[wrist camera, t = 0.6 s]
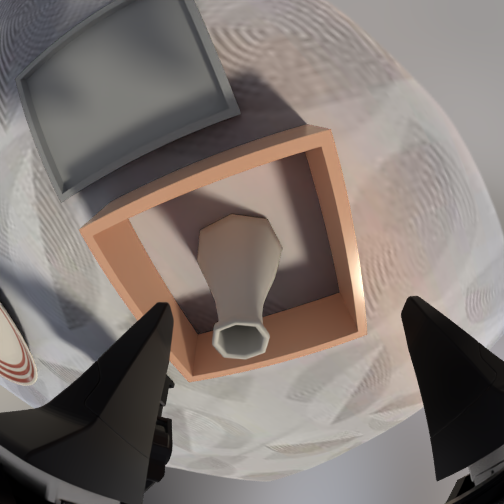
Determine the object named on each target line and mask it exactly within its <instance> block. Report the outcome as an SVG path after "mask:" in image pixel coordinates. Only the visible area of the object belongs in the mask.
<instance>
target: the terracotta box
mask: <svg viewBox="0 0 504 504" xmlns="http://www.w3.org/2000/svg"><path fill="white" fill-rule="evenodd" d="M304 151H305V154H306V157H307V160H308V164H309V167H310V171H311V174H312V178H313V181H314V185H315V188H316V192H317V196H318V199H319V203H320V207H321V211H322V215H323V219H324V223H325V227H326V231H327V235H328V240H329V244H330V248H331V253H332V257H333V262H334V267H335V271H336V276H337V281H338V286H339V291H340V293H337V294H334V295H331V296H328V297H325V298H322V299H319V300H316V301H313V302H310V303H307V304H304V305H301V306H298V307H294V308H291V309H288V310H285V311H282V312H278V313H275V314H272V315H268V316H265V317H262V319H263V325H264V327H265V328H266V330H267V331H268V333H269V335H270V338H269V342H268V345H267V348H266V351H265V353H262V354H260V355H257V356H254V357H251V358H248V359H234V358H224V357H223V356H222V355H221V354H220V353H219V352H218V351H217V350H216V349H215V348H214V346H213V345H212V338H213V331H210V332H206V333H202V334H197V333H196V331H195V330H194V328H193V327H192V325H191V324H190V322H189V321H188V319H187V318H186V316H185V315H184V313H183V312H182V310H181V308H180V307H179V305H178V304H177V302H176V301H175V299H174V298H173V296H172V294H171V293H170V291H169V290H168V288H167V286H166V285H165V283H164V281H163V280H162V278H161V276H160V275H159V273H158V271H157V270H156V268H155V266H154V265H153V263H152V261H151V259H150V258H149V256H148V254H147V252H146V251H145V249H144V247H143V245H142V244H141V242H140V240H139V238H138V236H137V234H136V233H135V231H134V229H133V227H132V225H131V223H130V221H129V219H128V218H130V217H132V216H135V215H137V214H139V213H141V212H143V211H146V210H148V209H150V208H152V207H155V206H157V205H159V204H161V203H164V202H166V201H168V200H171V199H173V198H176V197H178V196H180V195H183V194H185V193H188V192H190V191H193V190H195V189H198V188H200V187H203V186H205V185H208V184H211V183H213V182H216V181H218V180H221V179H224V178H226V177H229V176H232V175H235V174H237V173H240V172H243V171H246V170H249V169H252V168H254V167H257V166H260V165H263V164H266V163H269V162H272V161H275V160H278V159H282V158H285V157H288V156H291V155H294V154H298V153H301V152H304ZM79 231H80V233H81V235H82V236H83V238H84V240H85V242H86V243H87V245H88V247H89V249H90V250H91V252H92V254H93V255H94V257H95V259H96V260H97V262H98V263H99V265H100V267H101V268H102V270H103V271H104V273H105V274H106V276H107V278H108V279H109V281H110V282H111V284H112V285H113V287H114V288H115V290H116V291H117V292H118V294H119V295H120V297H121V298H122V300H123V301H124V303H125V304H126V305H127V307H128V308H129V310H130V311H131V312H132V314H133V315H134V316H135V318H136V319H137V320H139V319H140V318H141V317H142V316H143V315H144V314H145V313H146V312H148V311H149V310H150V309H151V308H152V307H153V306H154V305H155V304H156V303H157V302H168V303H169V304H170V307H171V311H172V315H173V318H174V326H173V334H172V342H171V351H170V359H169V360H170V361H171V363H172V364H173V365H174V366H175V367H176V368H177V370H178V371H179V372H180V373H181V374H182V375H183V376H184V377H185V378H186V380H187V381H188V382H194V381H200V380H205V379H211V378H216V377H221V376H226V375H231V374H235V373H240V372H244V371H249V370H253V369H257V368H261V367H265V366H269V365H273V364H277V363H281V362H284V361H288V360H291V359H295V358H298V357H302V356H305V355H309V354H312V353H315V352H318V351H321V350H324V349H328V348H331V347H334V346H337V345H339V344H342V343H345V342H348V341H351V340H354V339H356V338H359V337H362V336H364V335H367V323H366V312H365V302H364V292H363V284H362V276H361V269H360V262H359V255H358V249H357V243H356V237H355V231H354V226H353V220H352V215H351V210H350V205H349V200H348V195H347V191H346V186H345V182H344V178H343V173H342V169H341V165H340V161H339V157H338V154H337V150H336V146H335V142H334V139H333V135H332V132H331V129H328V128H323V127H319V126H314V125H309V124H306V125H303V126H299V127H296V128H292V129H289V130H285V131H282V132H279V133H276V134H273V135H269V136H266V137H263V138H260V139H257V140H254V141H251V142H248V143H245V144H243V145H240V146H237V147H234V148H231V149H229V150H226V151H223V152H221V153H218V154H215V155H213V156H210V157H208V158H205V159H203V160H200V161H198V162H195V163H193V164H191V165H188V166H186V167H183V168H181V169H179V170H176V171H174V172H172V173H170V174H167V175H165V176H163V177H161V178H158V179H156V180H154V181H152V182H150V183H148V184H146V185H143V186H141V187H139V188H137V189H135V190H133V191H131V192H129V193H127V194H125V195H123V196H121V197H119V198H117V199H115V200H113V201H111V202H110V203H109V204H108V205H106V206H105V207H104V208H103V209H102V210H100V211H99V212H98V213H97V214H96V215H95V216H94V217H92V218H91V219H90V220H89V221H88V222H87V223H86V224H85V225H84V226H82V227H81V228H80V229H79Z"/></svg>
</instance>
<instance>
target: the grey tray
mask: <svg viewBox="0 0 504 504" xmlns="http://www.w3.org/2000/svg"><path fill="white" fill-rule="evenodd" d="M15 81H16V85H17V89H18V93H19V96H20V100H21V103H22V107H23V110H24V113H25V117H26V120H27V123H28V126H29V129H30V132H31V134H32V137H33V140H34V143H35V145H36V148H37V150H38V153H39V156H40V158H41V160H42V163H43V165H44V168H45V170H46V172H47V175H48V177H49V179H50V181H51V183H52V186H53V188H54V190H55V192H56V194H57V196H58V198H59V200H60V202H61V203H62V202H63V201H65V200H66V199H68V198H69V197H71V196H73V195H74V194H76V193H77V192H79V191H80V190H82V189H84V188H85V187H87V186H88V185H90V184H92V183H93V182H95V181H97V180H98V179H100V178H102V177H104V176H105V175H107V174H109V173H111V172H112V171H114V170H116V169H118V168H120V167H121V166H123V165H125V164H127V163H129V162H131V161H133V160H135V159H137V158H139V157H141V156H143V155H145V154H147V153H149V152H151V151H153V150H155V149H157V148H159V147H161V146H163V145H165V144H167V143H170V142H172V141H174V140H176V139H179V138H181V137H183V136H185V135H188V134H190V133H192V132H195V131H197V130H200V129H202V128H205V127H207V126H210V125H212V124H215V123H217V122H220V121H223V120H225V119H228V118H231V117H234V116H237V115H239V114H241V112H240V110H239V107H238V104H237V102H236V99H235V97H234V94H233V92H232V89H231V86H230V84H229V81H228V79H227V76H226V74H225V72H224V69H223V67H222V64H221V62H220V59H219V57H218V54H217V52H216V50H215V47H214V45H213V43H212V40H211V38H210V35H209V33H208V31H207V28H206V26H205V24H204V22H203V19H202V17H201V15H200V12H199V10H198V8H197V6H196V4H195V1H194V0H115V1H114V2H112V3H110V4H109V5H107V6H105V7H104V8H102V9H100V10H99V11H97V12H96V13H94V14H92V15H91V16H89V17H88V18H86V19H85V20H84V21H82V22H81V23H79V24H78V25H76V26H75V27H74V28H72V29H71V30H70V31H68V32H67V33H66V34H64V35H63V36H62V37H60V38H59V39H58V40H57V41H55V42H54V43H53V44H52V45H51V46H49V47H48V48H47V49H46V50H45V51H44V52H42V53H41V54H40V55H39V56H38V57H37V58H36V59H35V60H34V61H33V62H32V63H30V64H29V65H28V66H27V67H26V68H25V69H24V70H23V71H22V72H21V73H20V74H19V75H18V76H17V77H16V78H15Z"/></svg>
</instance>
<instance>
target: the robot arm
mask: <svg viewBox="0 0 504 504" xmlns="http://www.w3.org/2000/svg"><path fill="white" fill-rule="evenodd" d="M401 318H402V322H403V327H404V331H405V336H406V340H407V345H408V349H409V353H410V357H411V360H412V363H413V367H414V370H415V374H416V377H417V381H418V385H419V389H420V393H421V397H422V401H423V405H424V409H425V414H426V419H427V423H428V428H429V434H430V437H431V438H430V440H431V445H432V452H433V458H434V466H435V474H436V480H437V481H439V480H441V479H444V478H446V477H448V476H450V475H452V474H454V473H456V472H458V471H460V470H462V469H464V468H466V467H468V468H469V472H470V473H469V474H468V475H466V476H464V477H462V478H460V479H459V480H457V482H456V484H455V486H454V488H453V490H452V492H451V494H450V496H449V498H448V500H447V502H446V503H445V504H504V361H503V360H501V359H500V358H498V357H497V356H496V355H494V354H493V353H492V352H490V351H489V350H488V349H487V348H485V347H484V346H483V345H482V344H480V343H478V341H477V340H475V339H474V338H473V337H472V336H470V335H469V334H468V333H467V332H465V331H464V330H463V329H461V328H460V327H459V326H458V325H456V324H455V323H454V322H452V321H451V320H450V319H448V318H447V317H446V316H444V315H443V314H442V313H440V312H439V311H438V310H436V309H435V308H434V307H432V306H431V305H430V304H428V303H427V302H426V301H424V300H423V299H421V298H420V297H419V296H410V297H408V298H407V300H406V303H405V305H404V307H403V310H402V312H401ZM173 326H174V318H173V315H172V311H171V307H170V304H169V303H168V302H157V303H156V304H155V305H154V306H153V307H152V308H151V309H150V310H149V311H148V312H146V313H145V314H144V315H143V316H142V317H141V318H140V319H139V320H138V321H137V322H136V323H135V324H134V325H133V326H132V327H131V328H130V329H129V330H128V331H127V332H126V333H124V334H123V335H122V336H121V337H120V338H119V339H118V340H117V341H116V342H115V343H114V344H113V345H112V346H111V347H110V348H109V349H108V350H107V351H106V352H105V353H104V354H103V355H102V356H101V357H100V358H99V359H98V361H96V362H95V363H94V364H93V365H92V366H91V367H90V368H89V369H88V370H86V371H85V372H84V373H83V374H82V375H81V376H80V377H79V378H78V379H77V380H75V381H74V382H73V383H72V384H71V385H70V386H68V387H67V388H66V389H65V390H63V391H62V392H61V393H60V394H59V395H57V396H56V397H55V398H54V399H52V400H51V401H50V402H49V403H47V404H45V405H44V406H41V407H39V408H35V409H28V410H21V411H12V412H3V413H0V504H143V496H144V493H145V492H146V491H147V490H148V489H149V488H150V487H151V486H152V485H153V484H154V483H155V482H159V481H160V480H161V479H162V478H163V477H164V473H165V465H166V464H167V463H168V461H169V459H170V457H171V453H172V444H173V443H172V419H169V418H164V417H161V415H162V409H163V406H165V405H166V401H167V395H168V389H169V388H174V383H173V382H172V380H171V379H170V378H169V377H168V376H167V375H166V373H167V369H168V364H169V359H170V351H171V342H172V334H173Z"/></svg>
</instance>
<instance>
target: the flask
mask: <svg viewBox="0 0 504 504" xmlns="http://www.w3.org/2000/svg"><path fill="white" fill-rule="evenodd" d="M281 252H282V246H281V244H280V242H279V240H278V238H277V236H276V234H275V232H274V230H273V228H272V227H271V225H270V223H269V221H268V219H262V218H255V217H248V216H241V215H234V214H231V215H229V216H227V217H225V218H223V219H221V220H219V221H217V222H215V223H213V224H211V225H209V226H207V227H205V228H203V229H202V230H200V234H199V245H198V257H197V262H198V264H199V267H200V269H201V271H202V273H203V275H204V277H205V279H206V281H207V283H208V286H209V288H210V291H211V293H212V295H213V298H214V300H215V303H216V309H217V314H218V322H217V323H215V325H214V330H213V338H212V345H213V346H214V348H215V349H216V350H217V351H218V352H219V353H220V354H221V355H222V356H223V357H224V358H234V359H248V358H251V357H254V356H257V355H260V354H262V353H265V351H266V348H267V345H268V342H269V338H270V335H269V333H268V331H267V330H266V328H265V327H264V325H263V319H262V311H263V304H264V301H265V299H266V296H267V294H268V291H269V289H270V287H271V285H272V283H273V281H274V279H275V276H276V272H277V268H278V264H279V260H280V256H281Z"/></svg>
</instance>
